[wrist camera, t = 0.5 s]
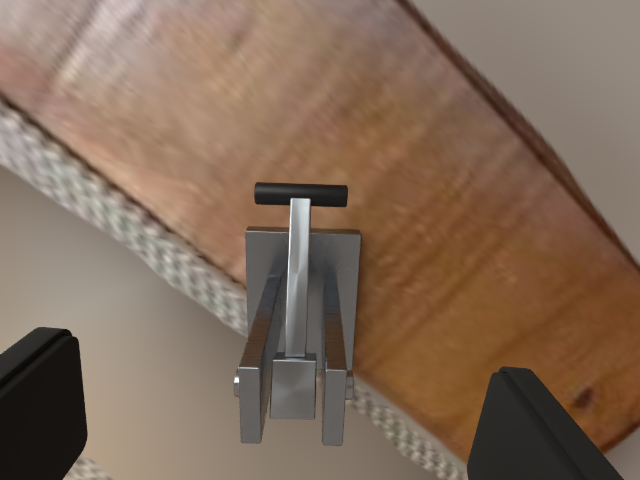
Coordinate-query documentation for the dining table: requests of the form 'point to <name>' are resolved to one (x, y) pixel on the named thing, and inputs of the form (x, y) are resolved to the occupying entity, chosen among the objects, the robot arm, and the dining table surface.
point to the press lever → (297, 297)
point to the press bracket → (322, 322)
